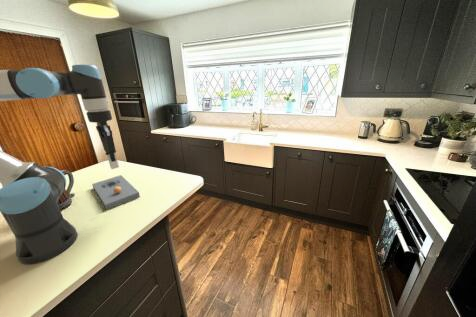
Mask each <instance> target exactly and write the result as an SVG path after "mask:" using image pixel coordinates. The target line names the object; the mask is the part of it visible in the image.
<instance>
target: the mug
mask: <svg viewBox="0 0 476 317" xmlns="http://www.w3.org/2000/svg"><path fill="white" fill-rule="evenodd" d="M60 171H61V172H62V173H63V174H66V176H68V181H69V182H68V185H67V188H65V190H64V191H63V193H62V194H61V196H60V198H59V200H58V202H57V204H58V206H59V209H60V211H61V212H62V211H64V210H65V209H67V208H68V207H70V206H71V205H72V202H73V200H72V198H74V197H75V196H76V195H75V192H71V191H72V190H73V187H74V183H75V180H74V179H75V178H74V175H73V174H72V172H71V171H70V170H65V169H64V170H60Z"/></svg>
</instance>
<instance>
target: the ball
mask: <svg viewBox="0 0 476 317" xmlns="http://www.w3.org/2000/svg"><path fill="white" fill-rule="evenodd" d="M114 192H115V193H120V192H121V188H120V187H115V188H114Z"/></svg>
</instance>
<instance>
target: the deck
mask: <svg viewBox="0 0 476 317" xmlns="http://www.w3.org/2000/svg"><path fill="white" fill-rule="evenodd" d="M91 185H92V188H93V190H94V192H95V193H96V195H97V196H98V198H99V199H100V201H101V203H102V205H103V206H104V207H105V209H106V210H107V211H108V210H110V209H112V208H115V207H117V206H120V205H123V204H125V203H128V202H130V201H132V200H135V199H138V198H141V196H140V195H141V194H140V192H139V191H138V190H137V189H136V188H135V187H134V186H133V184H131V183H130V182H129V181H128V180H127V179H126V178H125V177H124V176H123V175H118V176H117V175H116V176H114V177H111V178H107V179H103V180H101V181H100V180H99V181H97V182H94V183H92V184H91ZM115 187H120V188H121V192H120V193H115V192H114V188H115Z"/></svg>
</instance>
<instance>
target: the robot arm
mask: <svg viewBox="0 0 476 317" xmlns="http://www.w3.org/2000/svg"><path fill="white" fill-rule="evenodd" d="M74 95H80V97H81V101H82V104H83V107H84V111H86V116H87V119H88V121H89V123H96V126H95V128H96V131H97V133H98V136H99V138H100V141H101V145H102V147H103V150H104V151H105V156H107V161H108V163H109V167H110V169H111V170H114V169H118V168H119V167H120V166H119V163H118V159H117V156H116V153H117V149H116V147H115V141H114V137H113V130H112V128H111V126H110V125H109V124H108V122H107V121H109V122H110V121H112V120H113V116H112V113H111V110H110V106H109V103H110V100H108V99H107V95H106V91H105V87H104V82H103V79H102V77H101V73H100V70H99V67H97V66H96V65H95V64H84V63H83V64H72V66H71V70H69V71H67V70H66V71H50V70H46V69H45V68H39V67H26V68H24V69H23V68H22V69H21V68H20V69H0V102H8V101H18V100H33V99H51V98H52V97H58V96H59V97H60V96H62V97H63V96H74ZM61 171H62V170H59V169H58V168H55V167H54V166H53V167H52V166H42V165H41V164H39V163H36V162H34V161H29V162H24V161H23V160H20V158H19V159H18V158H16V157H15V156H12V155H11V154H8V153H6V152H4V151H3V150H1V149H0V184H1V186H2V187H1V188H0V213H1V215H2V217H3V218H4V220H5V222H6V223H7V225H8V227H9V229H10V230H11V232H12V233H13V235H14V237H15V256H16V258H17V260H18V262H19V263H21V264H22V265H32V264H34V265H35V264H38V263H42V262H45V261H48V260H49V259H52V258H54V257H56V256H58V255H60V254H61V253H63V252H64V251H66V250H68V249H69V248H70V247H71V246H72V245H73V244H74V243H75V242H76V241H77V238H78V237H79V236H78V231H77V229H76V227H74V225H73V224H71V223H70V222H69V221H68V220H67V219H66V218H64V216H63V214H62V210H61V211H60V209H59V206H58V204H57V202H58V200H59V198H60V196H61V194H62V193H63V191H64V190H65V189H66V186H67V178H66V175H65V173H62V172H61Z"/></svg>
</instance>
